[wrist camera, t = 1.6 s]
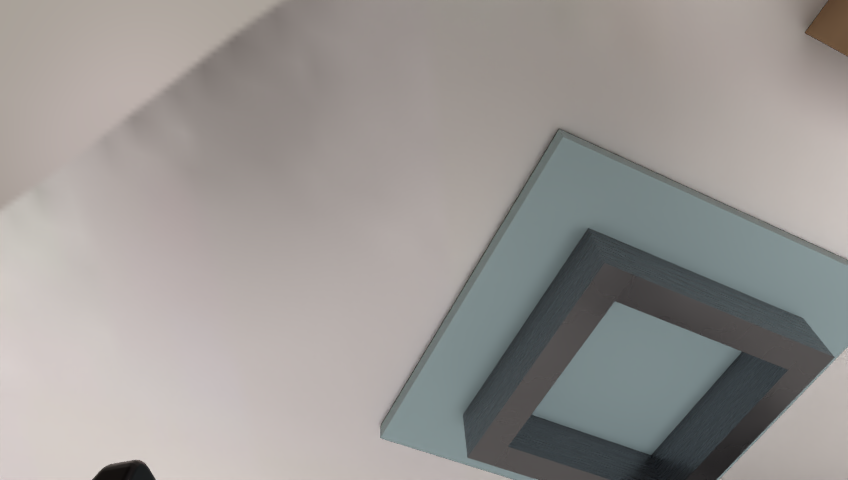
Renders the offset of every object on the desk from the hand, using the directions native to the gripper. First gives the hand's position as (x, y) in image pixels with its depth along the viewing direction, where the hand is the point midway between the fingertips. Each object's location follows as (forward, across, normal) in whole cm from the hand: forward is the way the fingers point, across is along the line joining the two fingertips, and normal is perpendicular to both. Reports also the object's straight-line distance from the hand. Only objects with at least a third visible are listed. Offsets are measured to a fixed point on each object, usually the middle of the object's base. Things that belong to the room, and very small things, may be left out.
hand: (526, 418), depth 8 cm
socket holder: (+13, -5, +12) cm, 18 cm away
